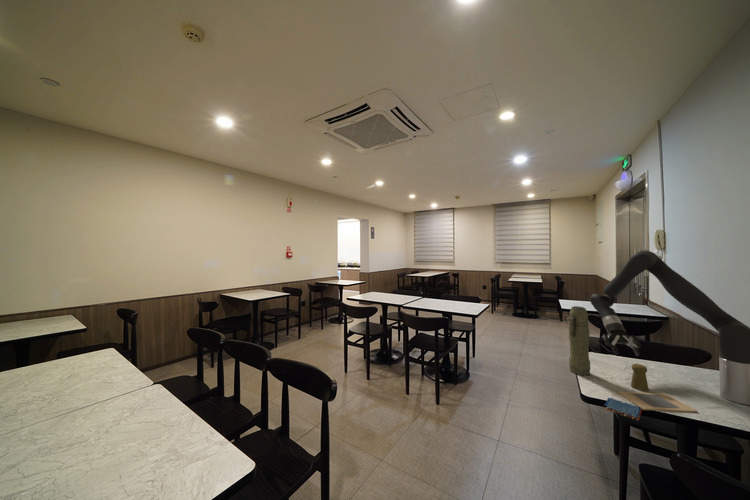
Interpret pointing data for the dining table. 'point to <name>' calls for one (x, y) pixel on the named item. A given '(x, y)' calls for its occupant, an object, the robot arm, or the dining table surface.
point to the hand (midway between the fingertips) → (627, 354)
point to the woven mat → (623, 408)
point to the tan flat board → (656, 402)
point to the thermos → (579, 341)
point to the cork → (639, 377)
